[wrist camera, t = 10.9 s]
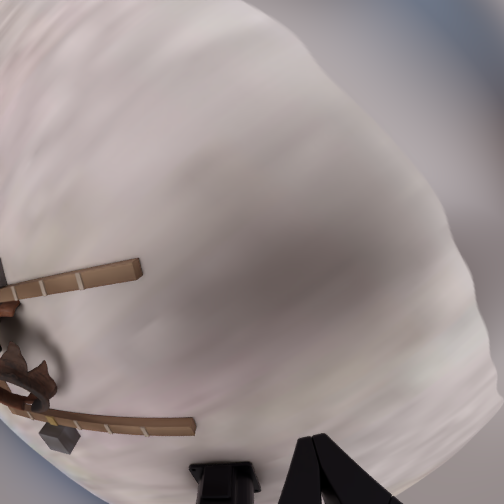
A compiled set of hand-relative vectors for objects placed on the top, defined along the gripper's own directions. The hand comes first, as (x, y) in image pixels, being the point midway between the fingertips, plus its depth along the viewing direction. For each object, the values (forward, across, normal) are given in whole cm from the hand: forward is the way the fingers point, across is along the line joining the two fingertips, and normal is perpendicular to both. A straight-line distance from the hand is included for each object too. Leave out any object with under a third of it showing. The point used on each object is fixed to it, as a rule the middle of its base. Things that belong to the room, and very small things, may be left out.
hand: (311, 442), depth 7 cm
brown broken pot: (+12, +25, +1) cm, 28 cm away
